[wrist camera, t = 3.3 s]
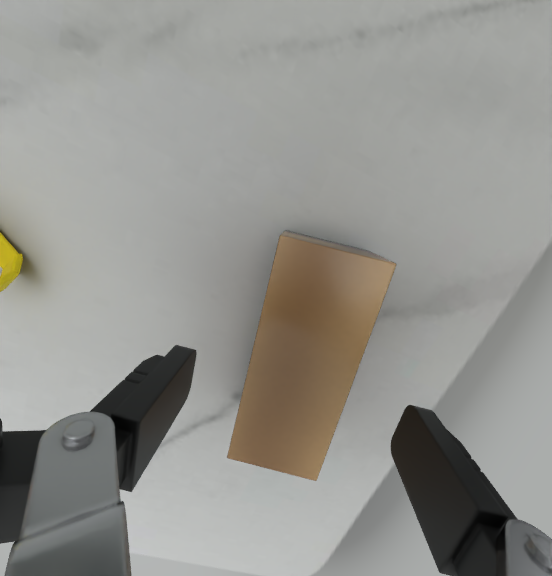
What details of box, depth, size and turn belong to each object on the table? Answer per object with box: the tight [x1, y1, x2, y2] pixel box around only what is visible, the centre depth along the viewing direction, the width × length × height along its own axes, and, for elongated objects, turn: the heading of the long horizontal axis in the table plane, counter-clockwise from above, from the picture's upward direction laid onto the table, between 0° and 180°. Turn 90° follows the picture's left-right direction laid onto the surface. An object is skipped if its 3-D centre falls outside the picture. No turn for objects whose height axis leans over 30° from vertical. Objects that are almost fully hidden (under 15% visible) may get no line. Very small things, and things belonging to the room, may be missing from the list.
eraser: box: [227, 230, 396, 481], centre depth 13 cm, size 4×11×4 cm, turn 166°
